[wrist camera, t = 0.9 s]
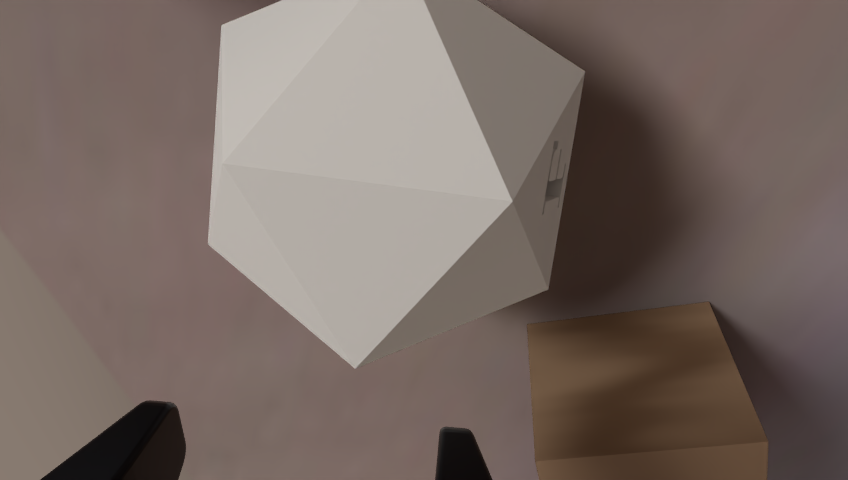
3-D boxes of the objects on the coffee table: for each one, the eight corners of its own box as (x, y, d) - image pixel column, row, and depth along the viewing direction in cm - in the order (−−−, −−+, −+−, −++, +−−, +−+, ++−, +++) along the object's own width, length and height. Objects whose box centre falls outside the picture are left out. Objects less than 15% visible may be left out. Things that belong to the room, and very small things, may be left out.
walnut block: (708, 300, 23) (768, 441, 18) (711, 426, 26) (763, 577, 21) (527, 322, 24) (535, 461, 19) (550, 441, 27) (562, 587, 22)
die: (427, 270, 24) (644, 394, 15) (151, 275, 19) (246, 454, 11) (460, 14, 22) (726, -2, 14) (166, -44, 18) (292, -122, 9)
